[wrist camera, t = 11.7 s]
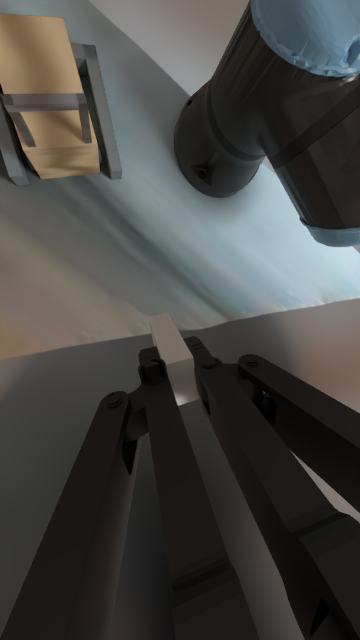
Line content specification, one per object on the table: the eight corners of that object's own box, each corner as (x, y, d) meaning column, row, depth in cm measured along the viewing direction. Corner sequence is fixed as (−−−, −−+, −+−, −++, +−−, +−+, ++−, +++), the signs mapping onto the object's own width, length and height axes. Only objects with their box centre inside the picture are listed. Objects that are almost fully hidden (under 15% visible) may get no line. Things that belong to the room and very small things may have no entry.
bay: (95, 64, 30) (94, 45, 28) (121, 178, 33) (122, 170, 31) (-24, 55, 27) (-37, 33, 24) (17, 185, 30) (9, 176, 27)
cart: (77, 76, 30) (56, -66, 18) (104, 172, 33) (101, 105, 21) (1, 76, 28) (-83, -89, 15) (36, 179, 30) (-12, 108, 18)
